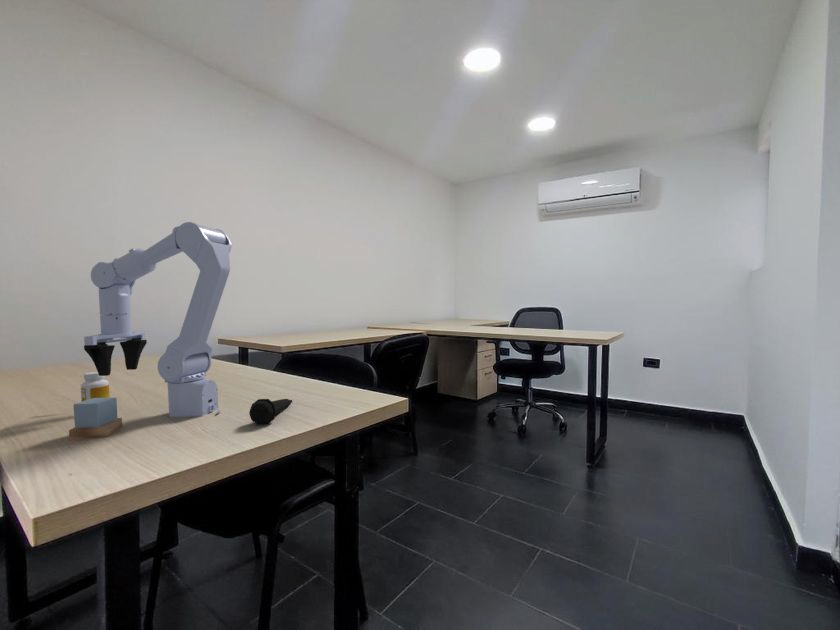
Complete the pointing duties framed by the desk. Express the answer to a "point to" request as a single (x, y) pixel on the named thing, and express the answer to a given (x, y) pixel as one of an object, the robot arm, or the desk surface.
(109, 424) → the tower mid
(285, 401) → the microphone
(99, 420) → the cube
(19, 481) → the desk surface
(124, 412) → the desk surface
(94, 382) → the supplement bottle
